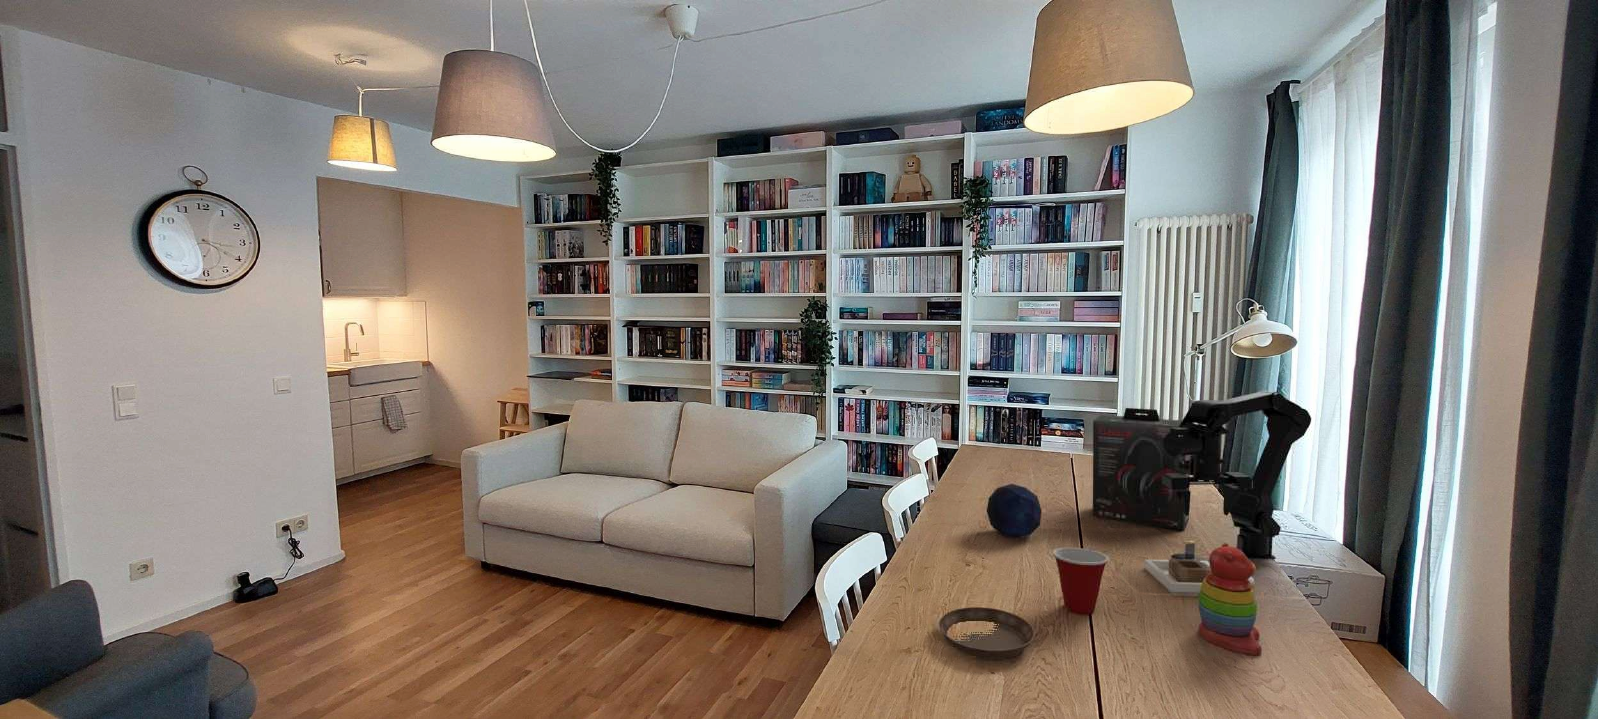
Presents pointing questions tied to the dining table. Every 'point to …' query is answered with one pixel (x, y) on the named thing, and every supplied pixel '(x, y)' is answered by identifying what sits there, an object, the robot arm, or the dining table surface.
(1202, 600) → the stacking bear
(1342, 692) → the dining table surface
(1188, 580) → the brown hollow block
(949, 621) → the plant saucer
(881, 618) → the dining table surface
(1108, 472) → the headset box
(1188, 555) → the grey rounded piece
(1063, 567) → the plastic cup
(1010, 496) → the decorative orb
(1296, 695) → the dining table surface
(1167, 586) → the tray
